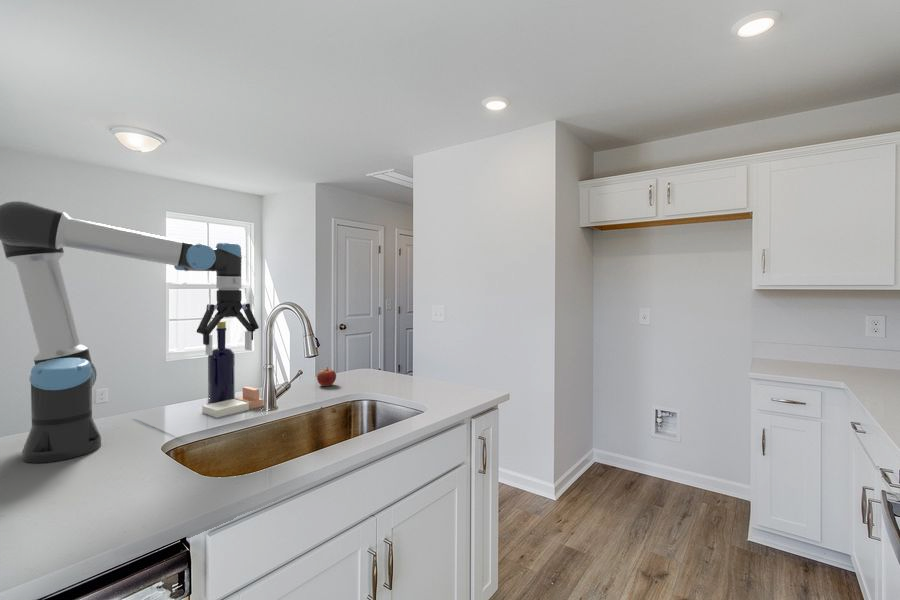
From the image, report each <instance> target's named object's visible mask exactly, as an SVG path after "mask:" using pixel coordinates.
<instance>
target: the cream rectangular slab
mask: <svg viewBox="0 0 900 600" xmlns="http://www.w3.org/2000/svg"><path fill="white" fill-rule="evenodd" d="M201 409H202V410H201V412H202V414H204V415H207V416H210V417H214V418H220V417H224V416H225V417H226V416H229V415H234V414H237V413H241V412H246V411H248V410H250V409H249V402H246V401H242V400H239V399H236V397H235V398H234V399H231V400H226V401H222V402H217V403H209V404H204V405H202V406H201Z"/></svg>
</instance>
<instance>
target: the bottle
mask: <svg viewBox="0 0 900 600" xmlns="http://www.w3.org/2000/svg"><path fill="white" fill-rule="evenodd" d="M226 322H227V321H223V320H222V321H221V320H220V322H219V323H218V324H217V325H216V327H215V328H216V333H217V338H216V339H217V341H216V342H217V348H215V349H212V355H207V368H208V369H207V387H208V388H207V397H208V398H207V402H208V403H209V404H212V403H217V402H222V401H226V400H231V399H234V398H235V399H236V363H235V361H236V358H235V357H236V356H235V352H234V351H233V350H232V349H231V348H227V347H226V340H227V339H226V338H227V337H226V331H227V327H226V326H227V325H226V324H227V323H226ZM209 398H210V399H209Z"/></svg>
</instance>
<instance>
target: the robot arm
mask: <svg viewBox="0 0 900 600" xmlns="http://www.w3.org/2000/svg"><path fill="white" fill-rule="evenodd" d="M0 241H1V245H2V249H3V252H4V254H5V260H7V261H9V262H11V263H13V264H14V265H16V270H17V273H18V277H19V280H20V285H21V288H22V291H23V295H24V299H25V302H26V307H27V309H28V310H27V311H28V314H29V317H30V322H31V325H32V329H33V332H34V336H35V340H36V343H37V347H38V353H37V355H36V356H35V357H33V361H34V366H32V367H31V370H30V375H29V382H30V405H31V406H30V408H31V410H30V411H31V413H30V414H31V428H30V431H29V433H28V436H27V438H26V441H25V443H24V445H23V448H22V451H21V452H22V461H23V462H25V463H31V464H32V463H34V464H38V463H52V462H58V461H64V460H70V459H73V458H77V457H80V456H84V455H86V454H89V453H92V452H94V451H96V450H98V449H100V447H101V446H102V436H101V434H100V432H99V429H98V428H97V425H96V423H95V421H94V418H93V387H94V385H95V383H96V380H97V375H98V374H97V369H96V367H95V366H94V364H93V362H92V358H91V354H90V350H89V347H87V346H85V345H84V344H82V343H81V342H80V339H79V335H78V330H77V328H76V323H75V320H74V315H73V311H72V307H71V304H70V300H69V296H68V291H67V288H66V284H65V283H66V282H65V280H64V276H63V271H62V268H61V265H60V260H61V258H63V257H64V255H65V251H64V247H66V248H71V249H76V250H77V249H78V250H84V251H89V252H95V253H101V254H104V255H105V254H106V255H113V256H119V257H124V258H129V259H135V260H141V261H147V262H151V263H152V262H153V263H158V264H165V265H170V266H173V267H174V269H175V270H177V271H185V272H190V271H192V272H216V288H217V290H216V304H212V303H207V304H206V310H205V312H204V315H203V316H202V319H201V321H200V322H199V325H198V327H197V329H196V333H197V334H201V335H202V337H203V338H202V344H203V345H204V346H205V355H207V356H208V355H212V350H213V334H211V333H212V332H213V331H214V330H215V328H217V324H218V323H219V322H220V321H221V320H223V319H224V318H230V317H231V318H236V319H237V320H238V321H239V322H240V323H241V325H242V326H243V327H244V328H245V329H246V330H245V331H244V350H245V351H252V341H253V340H254V332H256V330H258V329H259V328H260V327H259V326H260V325H258V323H257V320H256V318H255V316H254V313H253V311H252V309H251V303H248V302H247V303H246V302H244V303H242V297H243V296H242V290H240V289H242V258H243V257H242V248H241V245H240V244H238V243H233V242H217V243H216V246H215V248H213V247H211V246H210V245H208V244H204V243H200V242H199V243H194V242H189V241H183V240H180V239H175V238H171V237H165V236H160V235H155V234H150V233H147V232H141V231H136V230H131V229H126V228H122V227H116V226H111V225H107V224H103V223H97V222H92V221H88V220H82V219H78V218H72V217H70V216H69V214H67V212H63V211H59V210H55V209H51V208H47V207H44V206H41V205H37V204H34V203H31V202H27V201H20V200H19V201H9V202H5V203H2V204H0ZM241 310H243V312H244V314H243V312H241ZM215 311H217V312H216V313H215V315H214V317H213V314H214V312H215ZM244 315H245V316H244ZM212 317H213V318H212Z"/></svg>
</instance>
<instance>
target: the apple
mask: <svg viewBox="0 0 900 600" xmlns="http://www.w3.org/2000/svg"><path fill="white" fill-rule="evenodd" d="M336 379H337V373H336V372H335V370H333V369H331V368H330V369H329V367H326V368H325V369H321V370H319V371H318V373H317V376H316V380H317V382H318V383H317V384H319V385H320V386H322V387H326V386H327V387H330V386H333V385H334V383H335V381H336Z"/></svg>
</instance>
